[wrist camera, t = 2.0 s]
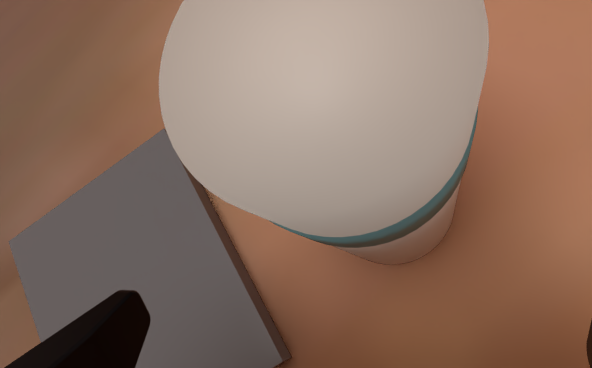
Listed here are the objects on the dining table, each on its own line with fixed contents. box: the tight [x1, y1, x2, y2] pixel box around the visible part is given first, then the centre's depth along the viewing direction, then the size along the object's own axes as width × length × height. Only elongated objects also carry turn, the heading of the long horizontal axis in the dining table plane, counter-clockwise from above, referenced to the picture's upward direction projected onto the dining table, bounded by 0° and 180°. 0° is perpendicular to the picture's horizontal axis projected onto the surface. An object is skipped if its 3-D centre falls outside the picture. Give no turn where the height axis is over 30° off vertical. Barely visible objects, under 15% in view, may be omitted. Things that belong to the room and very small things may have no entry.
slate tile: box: [9, 129, 291, 368], centre depth 23 cm, size 13×11×1 cm
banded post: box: [159, 0, 489, 265], centre depth 14 cm, size 6×6×14 cm
